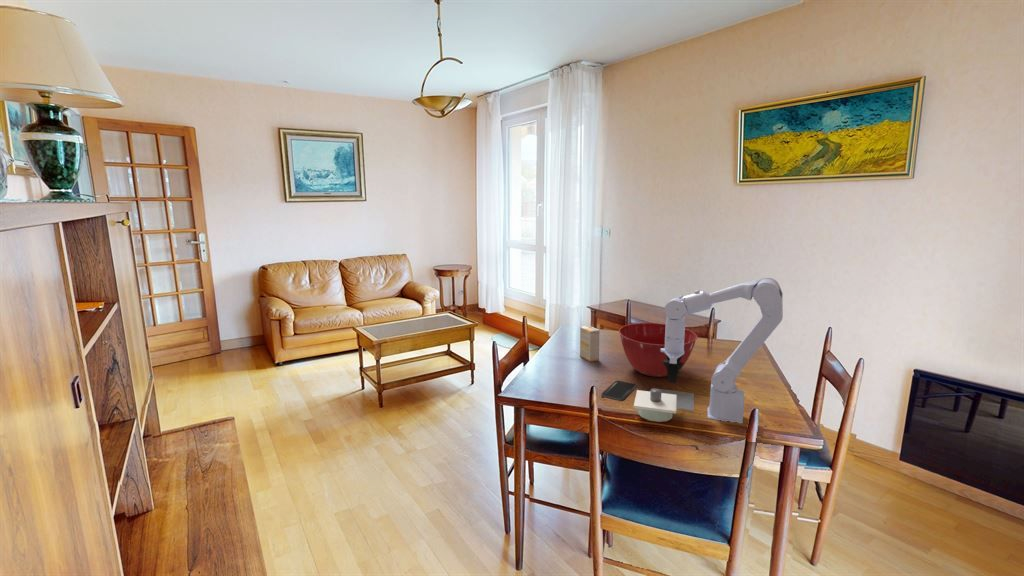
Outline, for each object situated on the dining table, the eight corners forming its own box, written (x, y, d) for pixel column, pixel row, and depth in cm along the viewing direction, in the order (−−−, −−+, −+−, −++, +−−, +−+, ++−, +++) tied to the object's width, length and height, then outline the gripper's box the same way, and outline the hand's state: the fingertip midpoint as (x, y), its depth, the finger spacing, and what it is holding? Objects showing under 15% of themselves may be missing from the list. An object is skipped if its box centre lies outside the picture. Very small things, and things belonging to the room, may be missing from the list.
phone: (600, 394, 157) (616, 380, 169) (600, 397, 157) (616, 383, 170) (622, 399, 153) (637, 384, 165) (622, 403, 153) (637, 387, 165)
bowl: (673, 410, 147) (673, 398, 146) (671, 424, 137) (672, 411, 137) (640, 405, 150) (640, 393, 149) (636, 419, 141) (636, 406, 140)
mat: (694, 394, 158) (694, 393, 158) (693, 411, 145) (693, 410, 145) (651, 388, 163) (651, 387, 163) (647, 405, 150) (647, 404, 150)
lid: (676, 397, 147) (677, 385, 146) (676, 413, 136) (676, 401, 135) (636, 392, 151) (637, 381, 150) (633, 408, 140) (634, 396, 139)
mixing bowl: (702, 366, 184) (704, 328, 181) (684, 391, 160) (686, 348, 157) (632, 354, 199) (633, 319, 196) (606, 375, 176) (607, 336, 173)
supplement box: (599, 360, 192) (600, 329, 189) (589, 362, 190) (590, 331, 188) (589, 354, 200) (589, 324, 197) (579, 356, 198) (579, 326, 195)
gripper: (662, 329, 154) (660, 368, 156) (659, 342, 140) (658, 384, 143) (685, 331, 151) (683, 371, 154) (684, 344, 138) (682, 387, 140)
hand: (672, 377), depth 148 cm, fingers open, 7 cm apart
